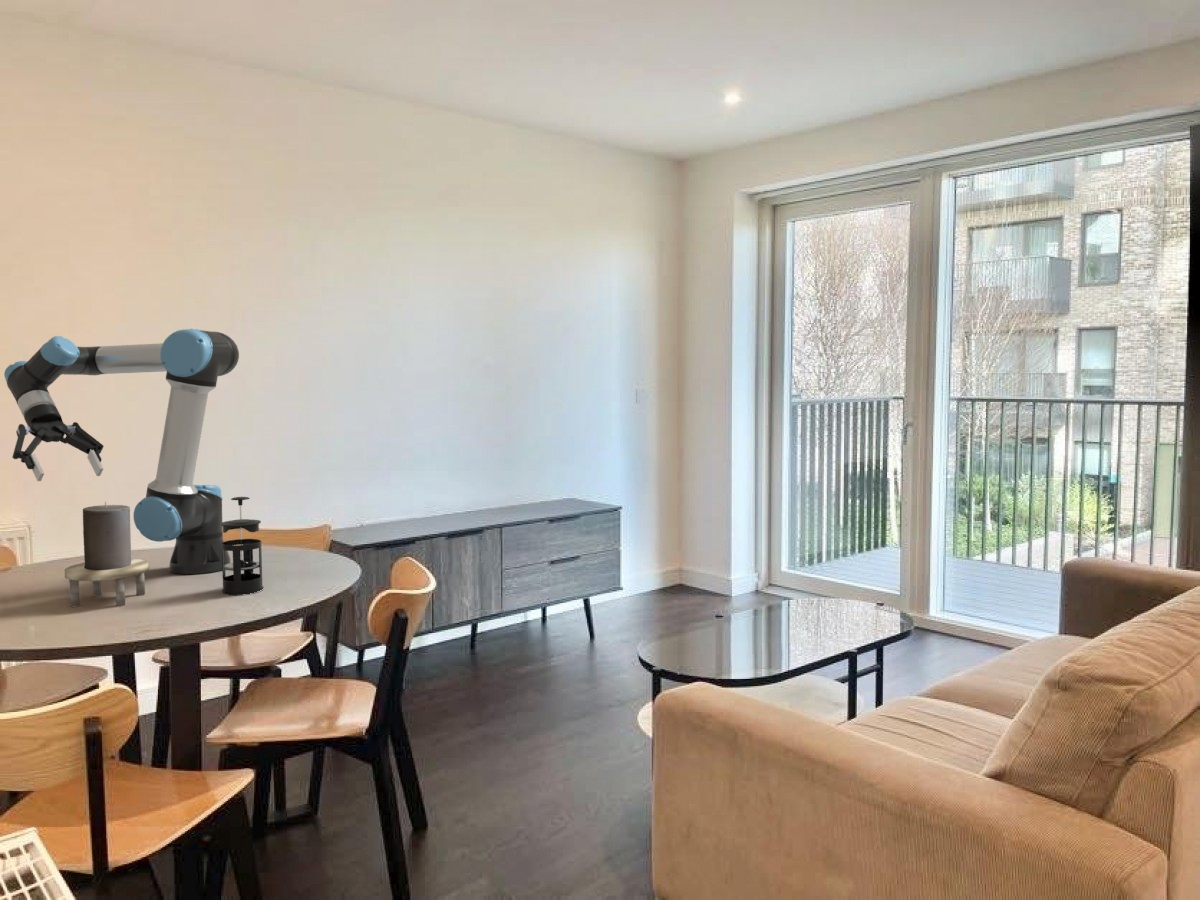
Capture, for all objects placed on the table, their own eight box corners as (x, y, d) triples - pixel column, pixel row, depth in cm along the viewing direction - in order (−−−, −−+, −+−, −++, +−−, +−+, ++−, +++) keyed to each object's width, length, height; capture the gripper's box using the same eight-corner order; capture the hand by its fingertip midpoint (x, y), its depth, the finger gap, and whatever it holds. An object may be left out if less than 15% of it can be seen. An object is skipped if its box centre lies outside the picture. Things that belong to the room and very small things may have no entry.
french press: (257, 595, 207) (254, 499, 206) (215, 596, 206) (212, 500, 205) (269, 584, 219) (267, 493, 217) (230, 585, 218) (227, 494, 216)
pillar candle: (75, 570, 198) (72, 504, 196) (99, 561, 207) (97, 498, 206) (117, 570, 198) (115, 505, 196) (140, 561, 207) (138, 499, 206)
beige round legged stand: (162, 590, 212) (160, 558, 211) (129, 608, 195) (127, 573, 194) (89, 591, 211) (88, 559, 210) (50, 610, 194) (48, 574, 193)
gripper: (87, 420, 233) (118, 480, 225) (-21, 424, 212) (9, 490, 205) (96, 401, 229) (127, 460, 222) (-13, 403, 209) (18, 469, 201)
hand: (71, 475), depth 213 cm, fingers open, 13 cm apart
